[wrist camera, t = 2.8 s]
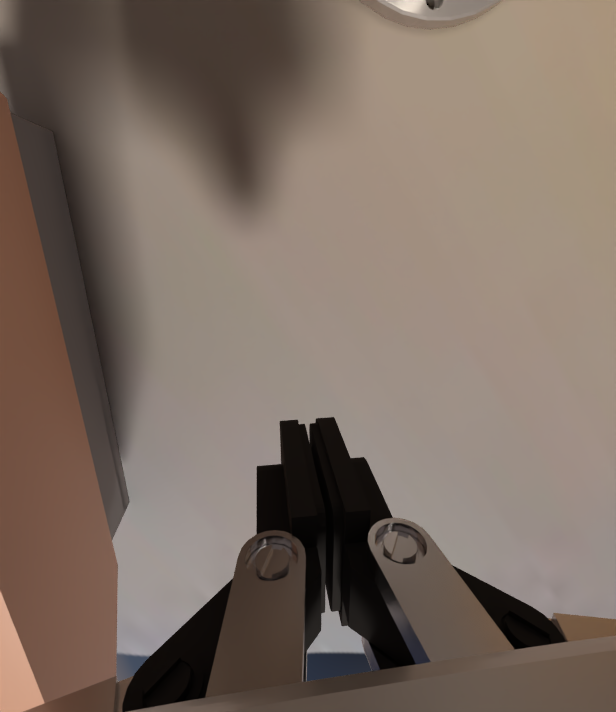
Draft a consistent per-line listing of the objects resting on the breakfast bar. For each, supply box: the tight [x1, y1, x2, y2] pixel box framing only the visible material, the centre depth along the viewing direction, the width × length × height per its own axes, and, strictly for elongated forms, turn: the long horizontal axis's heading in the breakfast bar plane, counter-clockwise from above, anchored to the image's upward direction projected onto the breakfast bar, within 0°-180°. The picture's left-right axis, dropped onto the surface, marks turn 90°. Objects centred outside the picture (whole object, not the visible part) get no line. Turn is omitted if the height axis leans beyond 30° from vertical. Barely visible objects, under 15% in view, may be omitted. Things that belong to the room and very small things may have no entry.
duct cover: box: [0, 92, 118, 712], centre depth 12 cm, size 22×12×1 cm
